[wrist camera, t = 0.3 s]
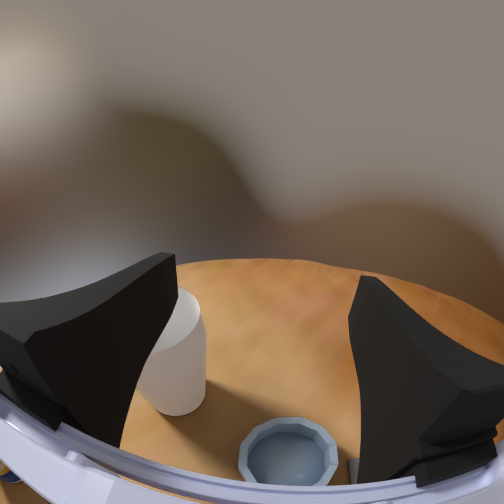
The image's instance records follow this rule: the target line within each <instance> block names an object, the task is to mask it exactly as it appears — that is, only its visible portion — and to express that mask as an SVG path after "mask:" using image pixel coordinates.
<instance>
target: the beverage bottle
mask: <svg viewBox="0 0 504 504" xmlns="http://www.w3.org/2000/svg"><path fill="white" fill-rule="evenodd" d="M0 479H1V480H3V481H5V482H7V483H18V482H21V481H22V480H21V479H20V478H19V477H18V476H17V475H16V474H15V473H14V472H13V471H11V470H10V469H9V468H8V467H7V466H6V465H5V464H4V463H3V462H2V461H1V460H0Z"/></svg>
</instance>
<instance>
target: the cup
mask: <svg viewBox="0 0 504 504" xmlns="http://www.w3.org/2000/svg"><path fill="white" fill-rule="evenodd" d="M178 295H179V297H178V300H177V303H176V305H175V308H174V310H173V313H172V315H171V317H170V319H169V321H168V323H167V325H166V327H165V328H164V330H163V332H162V334H161V335H160V337H159V339H158V341H157V343H156V344H155V346H154V348H153V350H152V351H151V353H150V355H149V357H148V359H147V361H146V363H145V365H144V367H143V370H142V372H141V375H140V378H139V380H138V383H137V386H136V388H137V390H138V391H139V392H140V393H141V394H142V395H143V396H144V397H145V399H146V400H147V401H148V402H149V403H150V404H151V405H152V406H153V407H154V408H155V409H156V410H157V411H159V412H161V413H163V414H165V415H169V416H181V415H185V414H188V413H190V412H192V411H194V410H195V409H197V408H198V407H199V406H200V404H201V403H202V401H203V400H204V397H205V384H206V331H205V327H204V324H203V320H202V316H201V312H200V307H199V304H198V301H197V300H196V298H195V297H194V296H193V295H192V294H191V293H190V292H188V291H187V290H185V289H183V288H181V287H178Z"/></svg>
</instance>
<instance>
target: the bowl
mask: <svg viewBox="0 0 504 504" xmlns="http://www.w3.org/2000/svg"><path fill="white" fill-rule="evenodd" d="M337 467H338V453H337V444H336V442H335V441H334V440H333V438H332V437H331V436H330V435H329V433H328V432H327V431H326V430H325V429H324V427H322V426H321V425H319V424H316V423H314V422H311V421H309V420H307V419H304V418H302V417H301V418H300V417H277V418H274V419H272V420H269V421H267V422H265V423H263V424H260V425H258V426H256V427H255V428H253V429H252V431H251V432H250V433H249V435H248V436H247V437H246V438H245V439H244V441H243V442H242V443H241V444H240V452H239V462H238V468H239V473H240V475H241V476H242V478H243V480H244V482H251V483H260V484H271V485H286V486H327V484H328V483H329V481H330V479H331V477H332V476H333V474H334V472H335V470H336V468H337Z"/></svg>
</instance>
